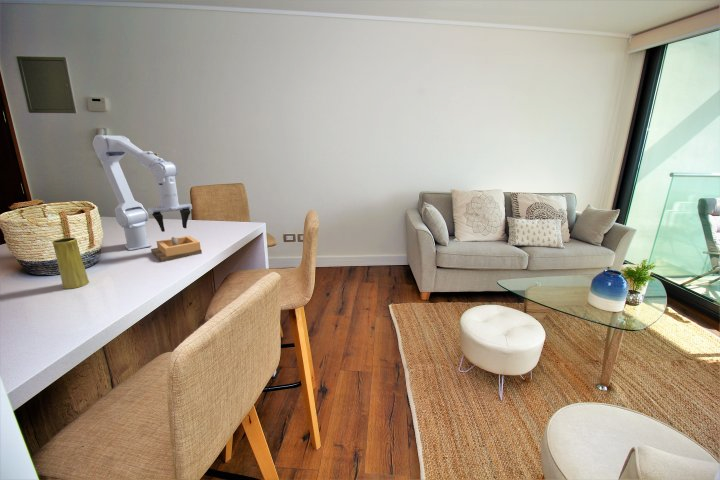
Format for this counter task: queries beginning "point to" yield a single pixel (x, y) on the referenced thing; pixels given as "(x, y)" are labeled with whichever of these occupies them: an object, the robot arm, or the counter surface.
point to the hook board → (167, 258)
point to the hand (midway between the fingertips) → (174, 229)
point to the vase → (70, 263)
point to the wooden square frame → (178, 246)
